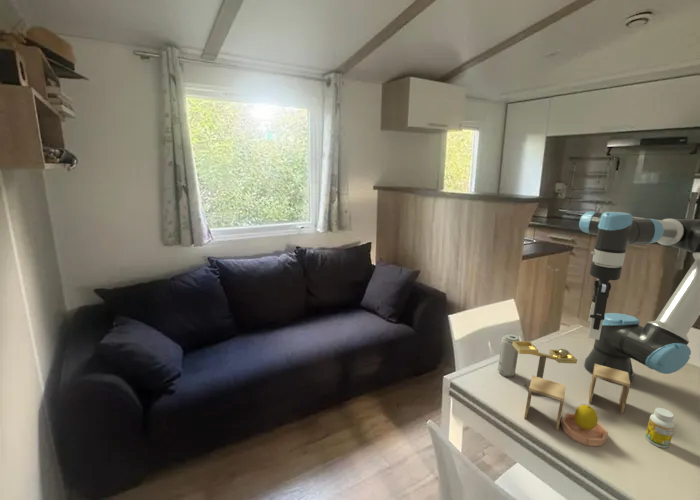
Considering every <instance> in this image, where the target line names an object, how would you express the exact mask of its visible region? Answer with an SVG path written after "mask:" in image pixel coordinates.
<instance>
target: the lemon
mask: <svg viewBox="0 0 700 500" xmlns="http://www.w3.org/2000/svg"><path fill="white" fill-rule="evenodd" d="M574 414H575V421H576V423H577V425H578V426H579V427H581V428H582V429H583V430H591V429H593V428H594V427H595V426H596V424H597V421H598V420H599V419H598V412H597V411H596V410H595V409H594V408H593V407H592V406H591V405H590V404H581V405H579V406H578V407H577V408H576V410H575V412H574Z"/></svg>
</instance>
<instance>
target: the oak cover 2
mask: <svg viewBox="0 0 700 500" xmlns="http://www.w3.org/2000/svg"><path fill="white" fill-rule="evenodd" d="M591 374H592V373H591ZM597 379H600V380H604V379H605V380H606V381H608V382H611V381H612V382H613V383H616V384H620V385H622V388H621V390H620V391H621V392H620V395H619V409H620V414H621V415H624V413H625V409H626V403H627V401H628V400H627V399H628V396H629V392H630V387H631V381H630V380H629V374H628V372H625V371H621V370H617V369H613V368H610V367H606V366H602V365H598V364H595V365H594V370H593V374H592V375H591V380H590V385H589V388H588V405H592V402H593V397H594V391H595V388H596V387H595V386H596V383H597Z"/></svg>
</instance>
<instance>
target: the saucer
mask: <svg viewBox="0 0 700 500" xmlns="http://www.w3.org/2000/svg"><path fill="white" fill-rule="evenodd" d="M560 423H561V424H560V425H561V429H562V430H563V432H564V434H566V435H567V436H568V437H569V438H570V439H571V440H572V441H573V440H574V441H575V442H577V443H579V444H581V445H584V446H586V447H591V448H592V447H593V448H598V447H602V446H604V445H605V444H606V442H607V438H608V435H609V432H608V431H607V430H606V428H605V427H604V426H603V425H602V423H600V421H598V420H597V424H596V426H595V427H594V428H593V429H591V430H583V429H582V428H581V427H579V426H578V425H577V423H576V421H575V413H569V412H568V413H566V414H565V415H564V416H563V418H561V420H560Z"/></svg>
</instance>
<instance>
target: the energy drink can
mask: <svg viewBox="0 0 700 500" xmlns="http://www.w3.org/2000/svg"><path fill="white" fill-rule="evenodd" d="M513 341H520V339H519V336H517V335H516V334H514V333H513V334H512V333H505V334H504V335H503V337H502V338H501V341H500V342H501V343H500V349H499V350H500V351H499V356H498V357H499V358H498V365H497V371H498V373H499V374H500V375H501V376H503V377H505V378H511V377H513V376H514V375H515V374H516V368H517V362H518V355H519V353H518V351H517V350H516V349H515V348H514V346H513V345H512V343H513Z"/></svg>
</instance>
